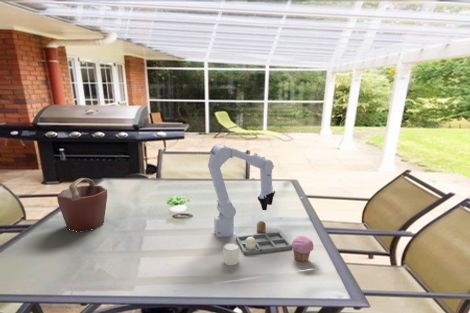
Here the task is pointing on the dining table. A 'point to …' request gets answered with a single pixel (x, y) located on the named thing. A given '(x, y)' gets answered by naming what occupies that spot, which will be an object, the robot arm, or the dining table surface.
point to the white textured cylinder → (231, 253)
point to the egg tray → (264, 243)
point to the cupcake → (302, 248)
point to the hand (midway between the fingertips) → (267, 207)
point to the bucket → (83, 205)
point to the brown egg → (261, 227)
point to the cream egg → (250, 243)
